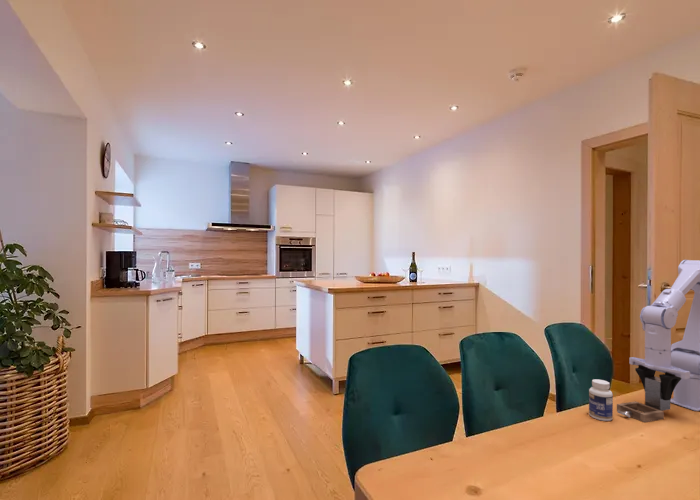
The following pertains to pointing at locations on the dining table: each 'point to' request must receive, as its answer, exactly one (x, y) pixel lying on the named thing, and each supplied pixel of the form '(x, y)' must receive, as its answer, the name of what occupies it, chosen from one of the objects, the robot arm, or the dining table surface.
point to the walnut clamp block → (646, 416)
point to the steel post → (655, 394)
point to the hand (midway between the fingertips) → (657, 396)
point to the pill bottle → (600, 400)
